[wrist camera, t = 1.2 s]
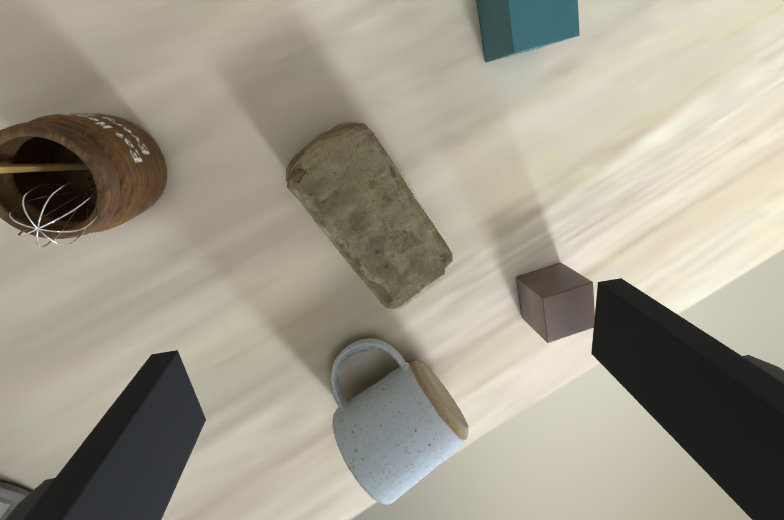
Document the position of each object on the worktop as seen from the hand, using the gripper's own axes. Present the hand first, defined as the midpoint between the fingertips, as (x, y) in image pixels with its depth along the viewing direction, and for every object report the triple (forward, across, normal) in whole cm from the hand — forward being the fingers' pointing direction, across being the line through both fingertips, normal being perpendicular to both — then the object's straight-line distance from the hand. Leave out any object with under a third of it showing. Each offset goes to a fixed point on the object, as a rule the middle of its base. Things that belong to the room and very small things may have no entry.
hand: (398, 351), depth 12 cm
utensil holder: (+16, +15, -6) cm, 22 cm away
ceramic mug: (+16, +1, +15) cm, 22 cm away
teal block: (+17, -11, -11) cm, 23 cm away
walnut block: (+17, -13, +9) cm, 23 cm away
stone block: (+17, 0, 0) cm, 17 cm away
